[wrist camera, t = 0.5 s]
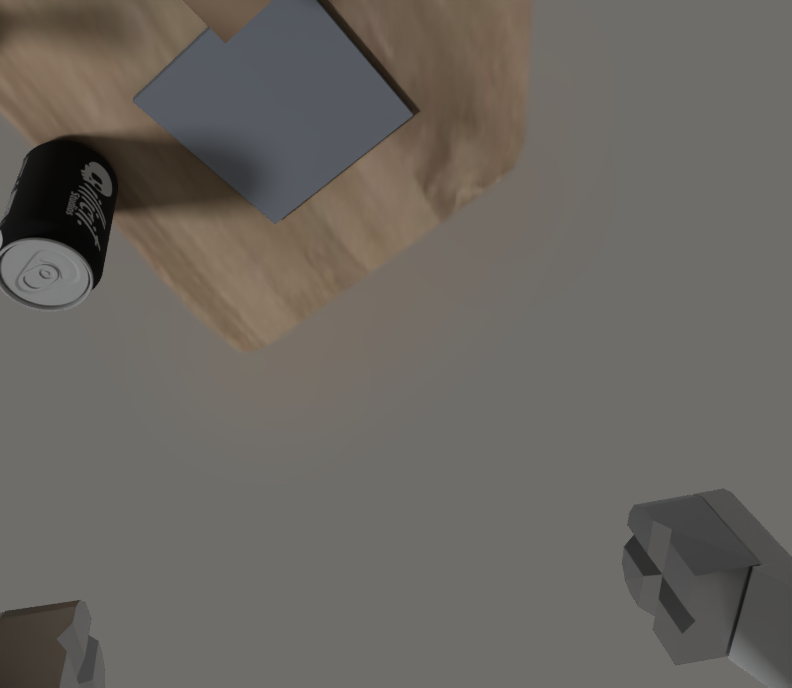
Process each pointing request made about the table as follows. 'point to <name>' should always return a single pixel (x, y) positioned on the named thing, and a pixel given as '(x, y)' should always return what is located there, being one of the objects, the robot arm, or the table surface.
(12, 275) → the beverage can
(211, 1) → the lid
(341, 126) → the tray
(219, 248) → the table surface
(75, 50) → the table surface
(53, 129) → the table surface
